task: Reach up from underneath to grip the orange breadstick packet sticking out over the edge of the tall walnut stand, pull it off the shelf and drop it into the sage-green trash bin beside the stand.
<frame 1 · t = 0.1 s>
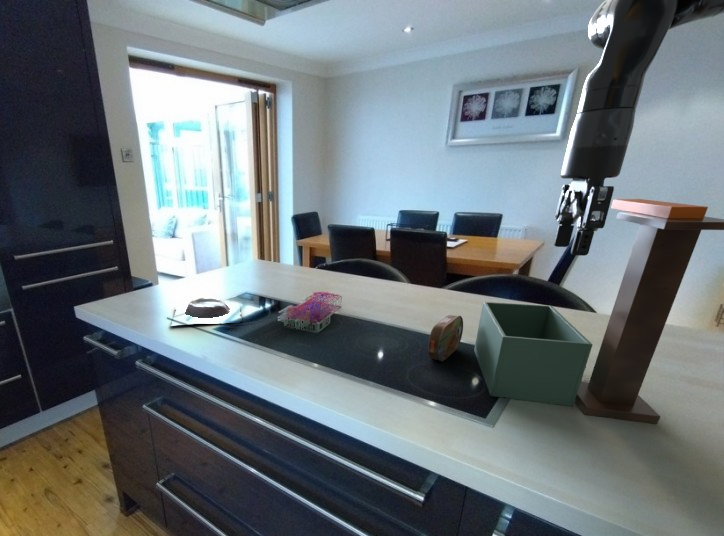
hand: (569, 250, 66), 26 cm above the table, tool pointing down, fingers open, 8 cm apart
stand: (606, 403, 69), on the table
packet: (650, 213, 62), point 32 cm above the table, touching stand
tin: (443, 354, 90), on the table
bin: (516, 374, 80), on the table
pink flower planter: (314, 314, 118), on the table
dark grey round dish: (207, 315, 120), on the table
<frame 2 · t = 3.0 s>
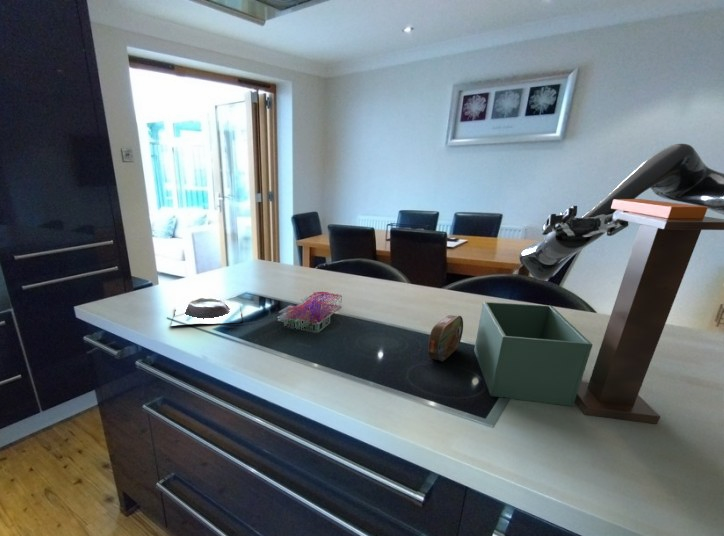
hand: (600, 209, 78), 31 cm above the table, tool pointing upward, fingers open, 8 cm apart
nothing on the table moved.
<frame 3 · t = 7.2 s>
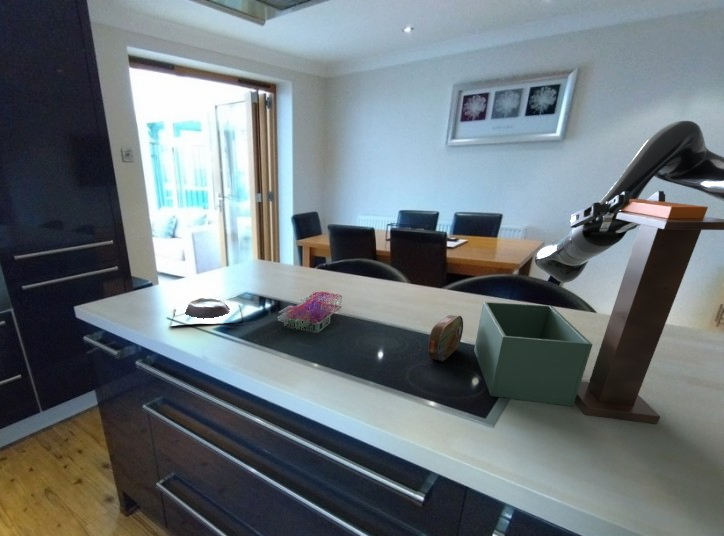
hand: (643, 196, 64), 34 cm above the table, tool pointing upward, fingers closed on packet, 4 cm apart
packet: (650, 213, 62), point 32 cm above the table, touching gripper, stand
everything else where it was.
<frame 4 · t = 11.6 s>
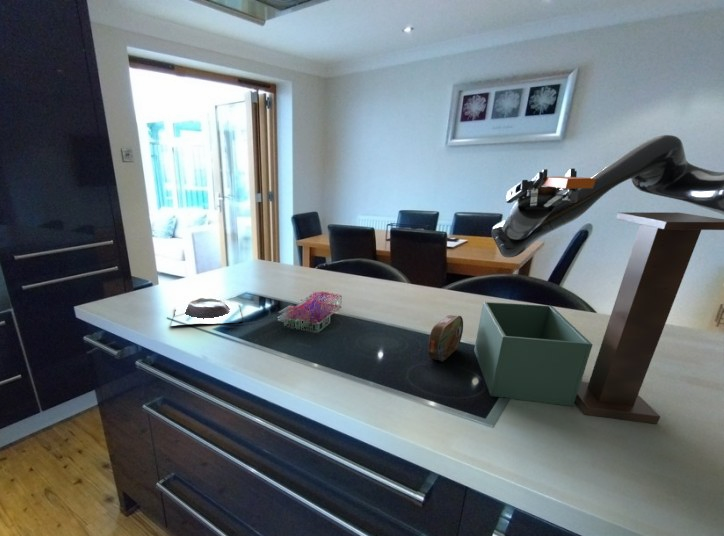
hand: (558, 173, 76), 38 cm above the table, tool pointing upward, fingers closed on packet, 4 cm apart
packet: (561, 186, 74), point 36 cm above the table, touching gripper
everything else where it was.
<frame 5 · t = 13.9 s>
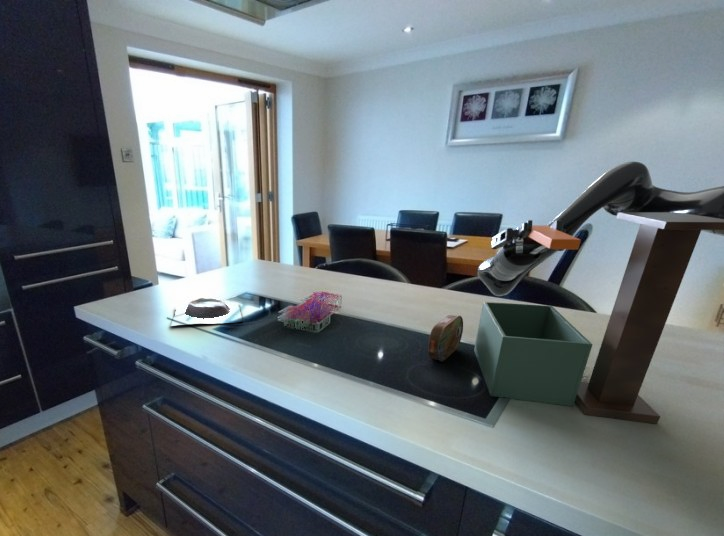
hand: (544, 225, 73), 29 cm above the table, tool pointing upward, fingers closed on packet, 4 cm apart
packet: (546, 240, 70), point 27 cm above the table, touching gripper
everything else where it was.
when the fingers open (24 cm above the table, at t = 15.8 s): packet drops 21 cm, resting on bin.
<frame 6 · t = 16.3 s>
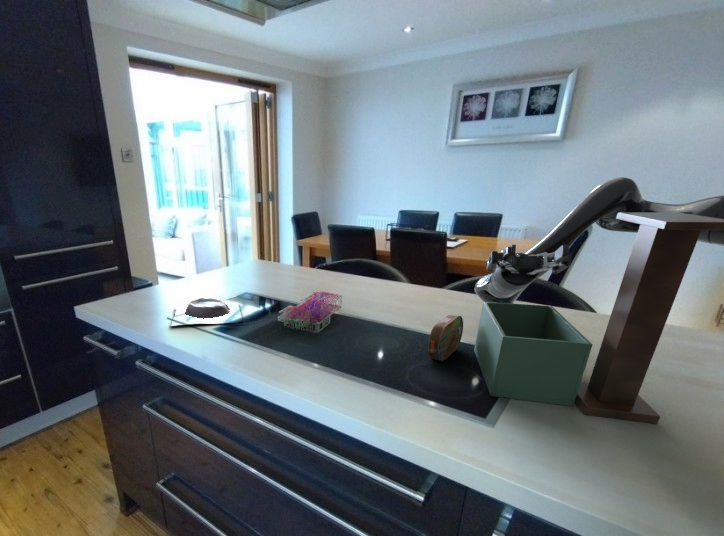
hand: (539, 249, 74), 25 cm above the table, tool pointing upward, fingers open, 8 cm apart
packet: (517, 369, 80), point 1 cm above the table, touching bin
everything else where it was.
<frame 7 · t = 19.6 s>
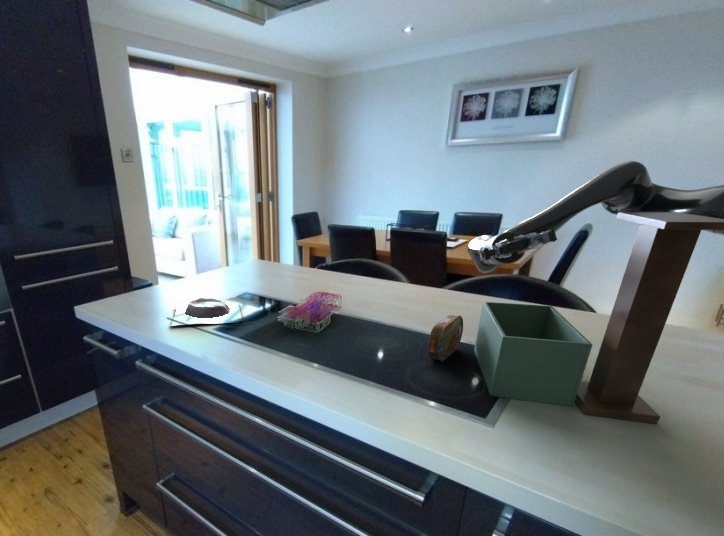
hand: (527, 242, 80), 25 cm above the table, tool horizontal, fingers open, 8 cm apart
nothing on the table moved.
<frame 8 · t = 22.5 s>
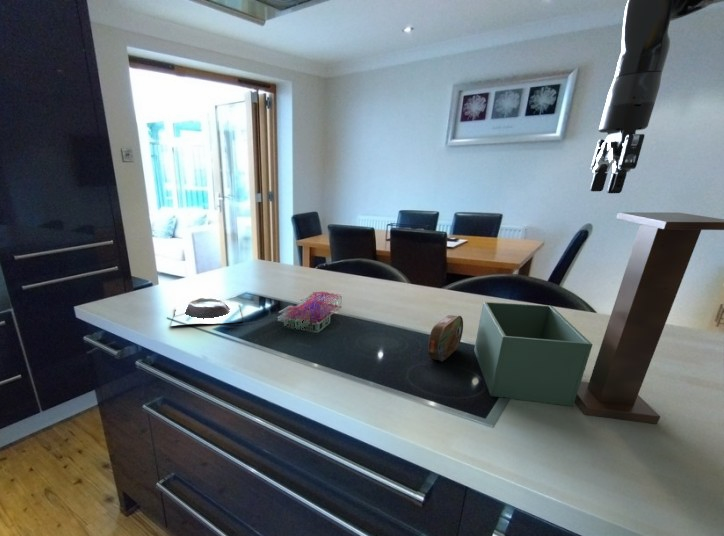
hand: (604, 192, 82), 34 cm above the table, tool pointing down, fingers open, 8 cm apart
nothing on the table moved.
at the end: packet inside the target area in the bin (0.3 cm from its centre), point 1.0 cm above the bin's base; the gripper is holding nothing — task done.
